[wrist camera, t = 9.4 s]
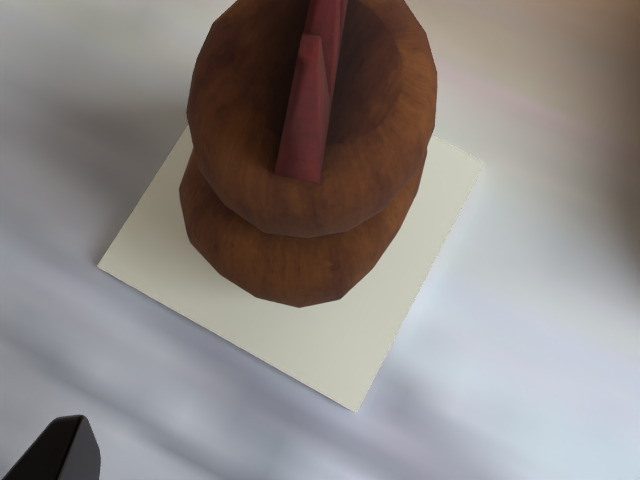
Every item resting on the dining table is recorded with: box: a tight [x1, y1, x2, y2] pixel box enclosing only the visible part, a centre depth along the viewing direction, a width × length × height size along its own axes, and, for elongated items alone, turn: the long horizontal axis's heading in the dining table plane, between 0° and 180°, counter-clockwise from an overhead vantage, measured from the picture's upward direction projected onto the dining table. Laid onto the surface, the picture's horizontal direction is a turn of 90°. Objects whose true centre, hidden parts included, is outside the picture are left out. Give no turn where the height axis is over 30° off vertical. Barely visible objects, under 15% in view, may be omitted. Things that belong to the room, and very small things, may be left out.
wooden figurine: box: [179, 0, 437, 308], centre depth 13 cm, size 7×6×15 cm
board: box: [97, 124, 485, 413], centre depth 21 cm, size 10×10×1 cm
